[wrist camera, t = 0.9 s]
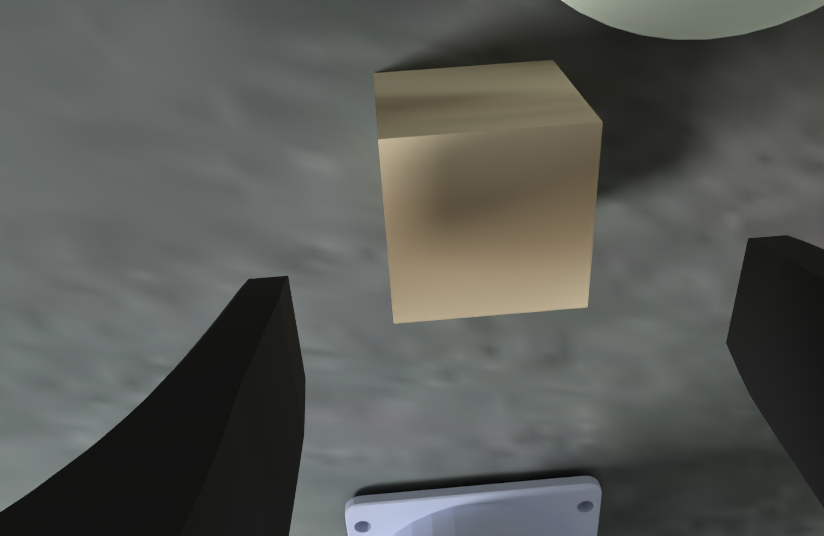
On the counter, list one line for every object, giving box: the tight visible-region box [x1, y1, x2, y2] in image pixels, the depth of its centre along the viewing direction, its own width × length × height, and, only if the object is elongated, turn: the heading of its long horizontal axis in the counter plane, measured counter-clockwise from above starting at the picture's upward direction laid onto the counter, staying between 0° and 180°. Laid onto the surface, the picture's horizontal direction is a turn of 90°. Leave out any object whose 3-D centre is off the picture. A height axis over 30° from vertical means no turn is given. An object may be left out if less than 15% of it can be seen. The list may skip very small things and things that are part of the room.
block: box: [373, 60, 603, 323], centre depth 16 cm, size 4×4×4 cm
